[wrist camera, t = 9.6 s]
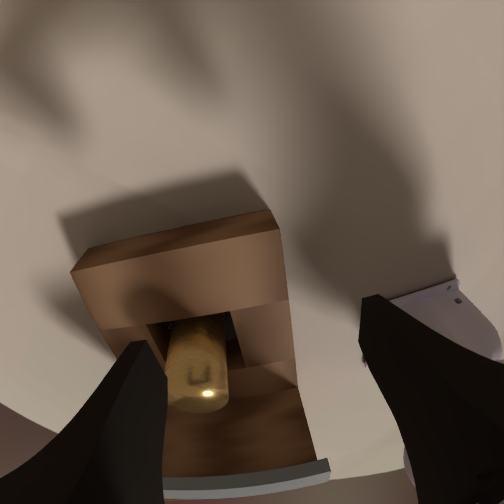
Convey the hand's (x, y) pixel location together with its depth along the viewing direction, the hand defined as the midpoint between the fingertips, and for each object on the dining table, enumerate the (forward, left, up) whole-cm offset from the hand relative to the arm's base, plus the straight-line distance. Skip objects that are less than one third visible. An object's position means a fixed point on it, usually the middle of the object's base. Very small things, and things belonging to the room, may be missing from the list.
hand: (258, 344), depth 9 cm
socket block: (+4, +6, -9) cm, 12 cm away
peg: (+4, +6, -9) cm, 12 cm away
